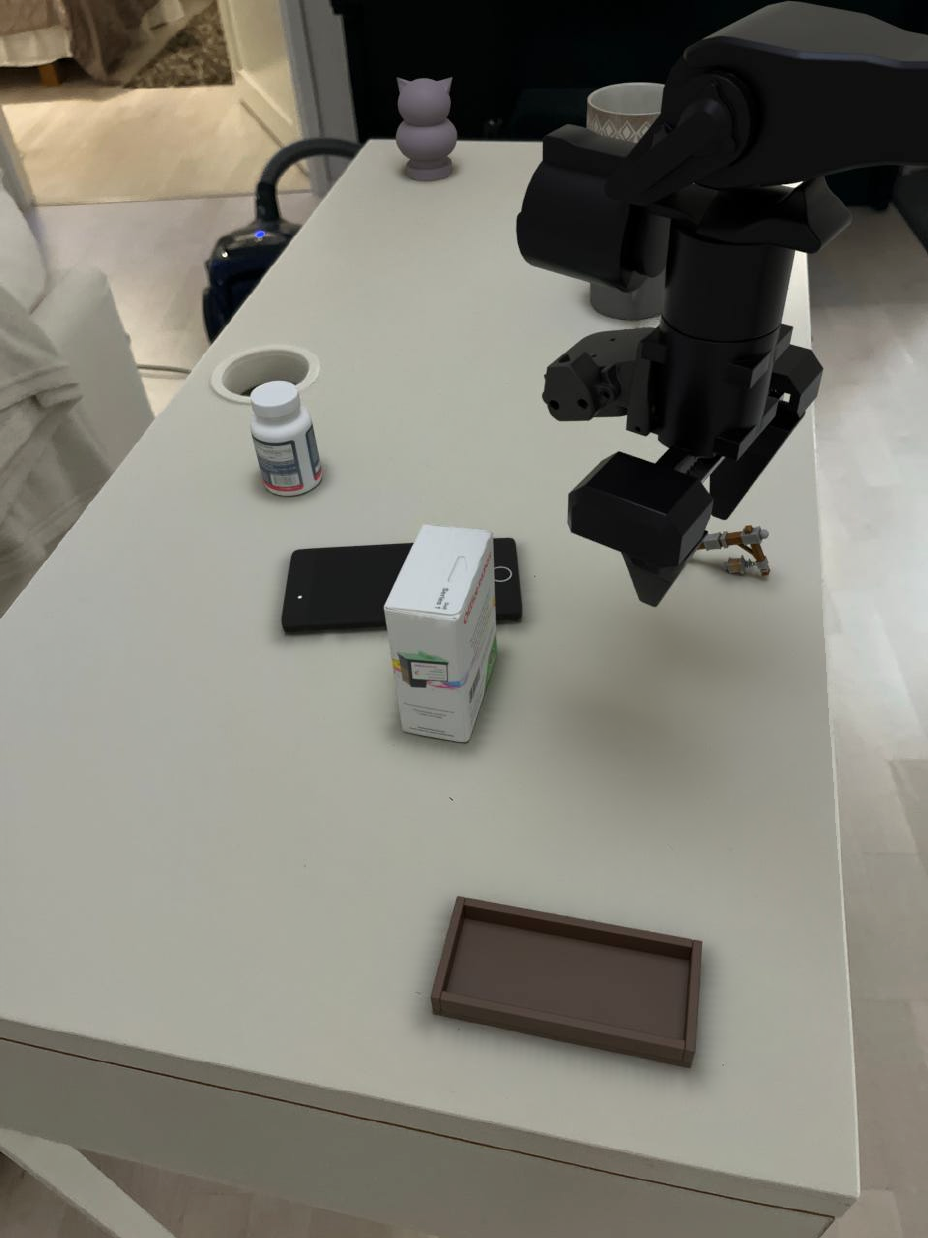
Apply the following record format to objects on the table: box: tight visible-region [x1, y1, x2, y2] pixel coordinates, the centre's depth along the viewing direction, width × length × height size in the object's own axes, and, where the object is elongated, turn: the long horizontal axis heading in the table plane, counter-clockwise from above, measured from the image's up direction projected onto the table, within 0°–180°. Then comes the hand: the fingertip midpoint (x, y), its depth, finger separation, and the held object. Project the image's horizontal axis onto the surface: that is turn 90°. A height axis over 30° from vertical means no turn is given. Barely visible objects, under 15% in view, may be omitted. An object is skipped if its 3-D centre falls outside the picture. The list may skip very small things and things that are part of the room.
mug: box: [589, 268, 666, 321], centre depth 103 cm, size 14×9×12 cm
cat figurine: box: [395, 76, 458, 182], centre depth 134 cm, size 8×8×12 cm
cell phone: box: [280, 537, 523, 634], centre depth 76 cm, size 9×18×1 cm, turn 91°
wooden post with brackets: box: [697, 524, 771, 577], centre depth 76 cm, size 2×8×4 cm, turn 65°
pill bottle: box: [249, 380, 323, 497], centre depth 84 cm, size 5×5×9 cm
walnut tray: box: [430, 895, 703, 1069], centre depth 52 cm, size 14×6×2 cm, turn 77°
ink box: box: [384, 523, 498, 743], centre depth 65 cm, size 8×5×12 cm, turn 165°
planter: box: [586, 82, 665, 143], centre depth 129 cm, size 13×13×10 cm
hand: (685, 558), depth 58 cm, fingers open, 9 cm apart
